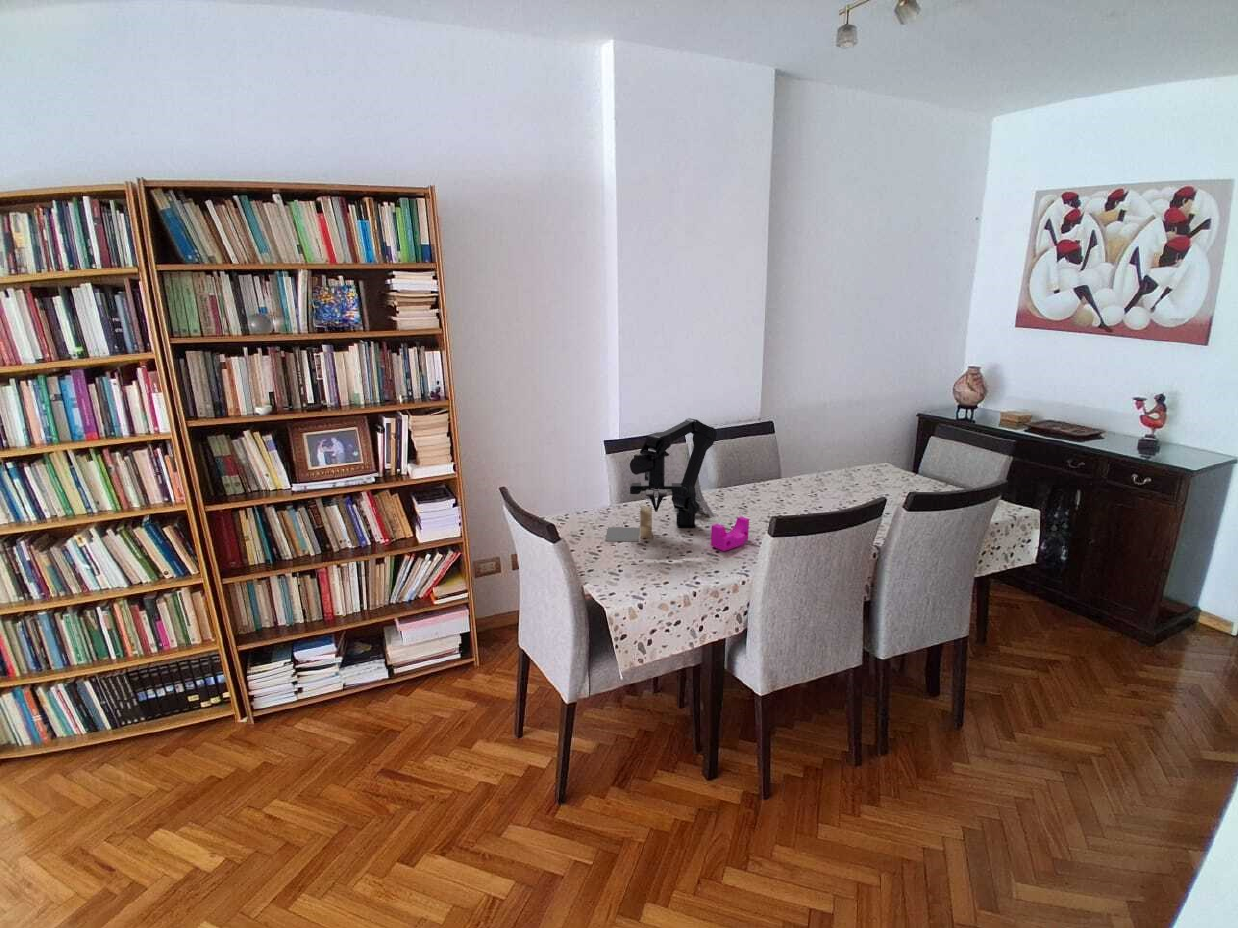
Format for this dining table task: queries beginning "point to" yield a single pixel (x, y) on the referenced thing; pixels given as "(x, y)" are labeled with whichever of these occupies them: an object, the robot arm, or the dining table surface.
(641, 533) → the oak block
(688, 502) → the robot arm
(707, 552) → the dining table surface
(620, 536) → the placemat
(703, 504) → the eiffel tower
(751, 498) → the dining table surface
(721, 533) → the toy block
